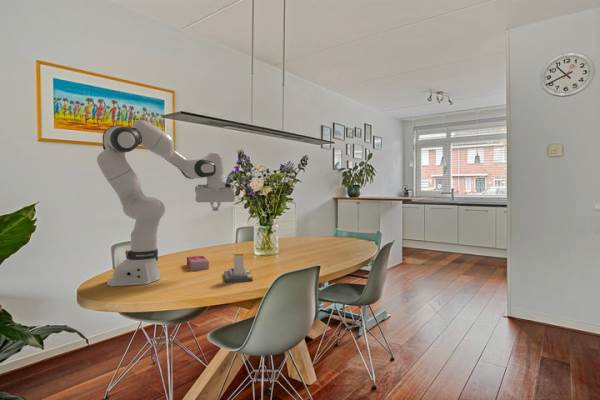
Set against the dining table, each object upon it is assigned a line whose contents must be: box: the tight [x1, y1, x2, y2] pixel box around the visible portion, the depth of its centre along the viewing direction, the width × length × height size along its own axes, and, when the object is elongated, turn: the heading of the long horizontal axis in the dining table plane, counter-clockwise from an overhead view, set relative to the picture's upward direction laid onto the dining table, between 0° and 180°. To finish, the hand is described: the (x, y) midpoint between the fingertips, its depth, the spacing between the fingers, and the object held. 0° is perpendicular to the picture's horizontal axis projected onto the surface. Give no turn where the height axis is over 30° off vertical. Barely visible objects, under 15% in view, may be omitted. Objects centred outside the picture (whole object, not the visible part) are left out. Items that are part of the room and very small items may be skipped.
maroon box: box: [186, 255, 210, 272], centre depth 194 cm, size 9×5×20 cm
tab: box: [233, 251, 244, 276], centre depth 167 cm, size 4×4×11 cm
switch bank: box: [223, 267, 253, 283], centre depth 171 cm, size 12×16×3 cm
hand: (215, 210), depth 186 cm, fingers closed
